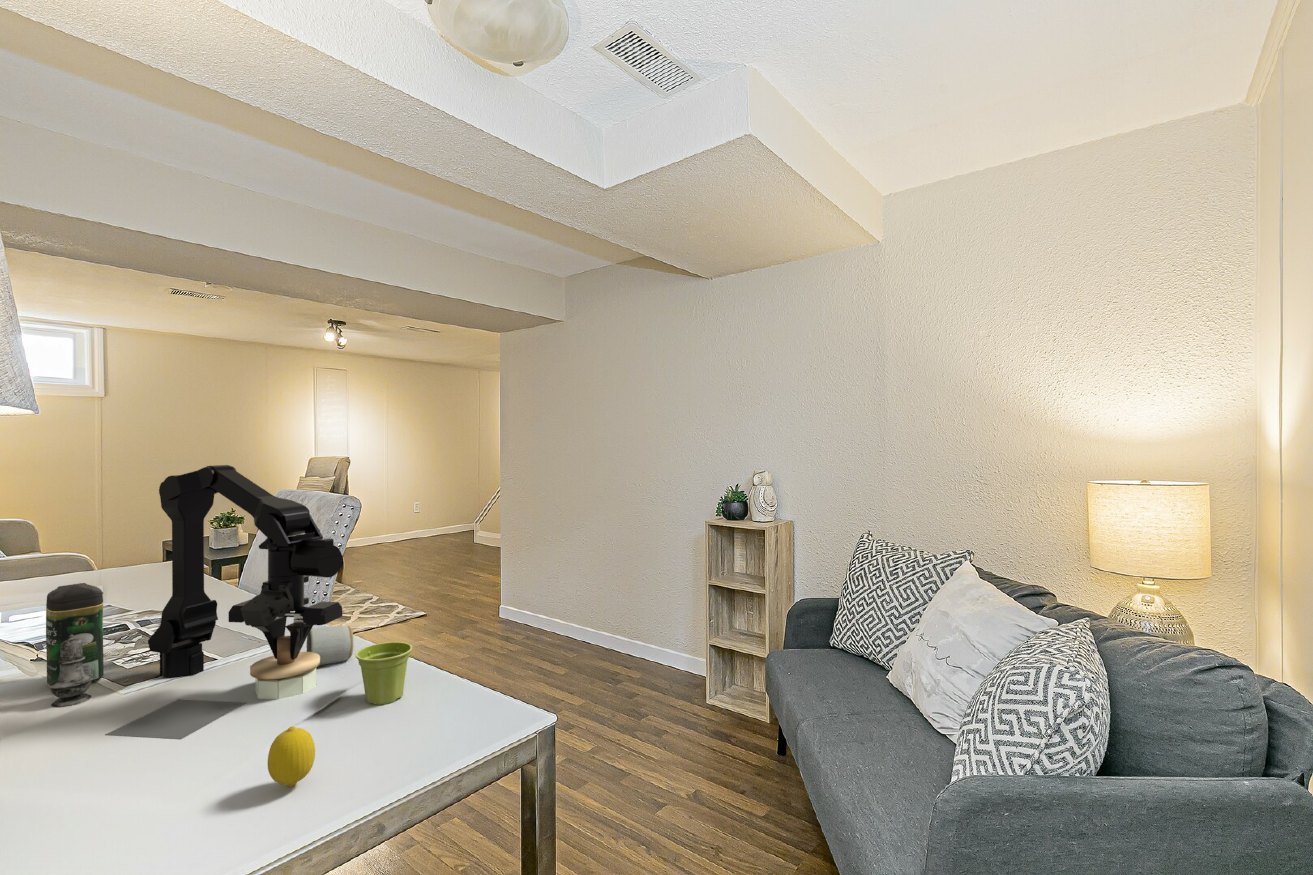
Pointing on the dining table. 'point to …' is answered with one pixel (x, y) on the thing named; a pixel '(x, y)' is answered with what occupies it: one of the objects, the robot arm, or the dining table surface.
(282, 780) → the lemon
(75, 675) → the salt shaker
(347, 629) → the ceramic mug
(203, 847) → the dining table surface
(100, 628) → the coffee jar
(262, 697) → the bowl
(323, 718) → the dining table surface
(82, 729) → the dining table surface
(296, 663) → the lid
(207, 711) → the mat
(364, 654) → the plant pot
